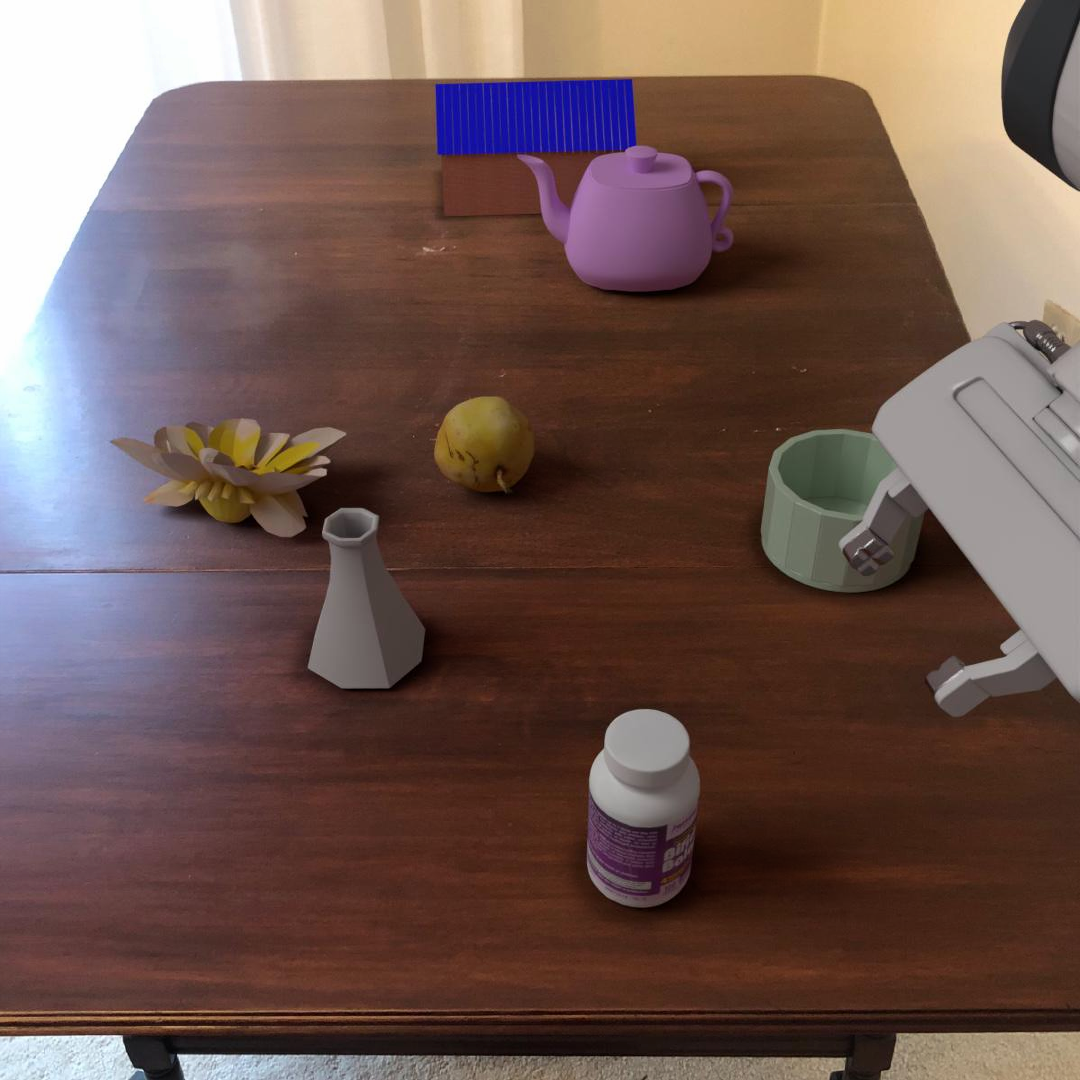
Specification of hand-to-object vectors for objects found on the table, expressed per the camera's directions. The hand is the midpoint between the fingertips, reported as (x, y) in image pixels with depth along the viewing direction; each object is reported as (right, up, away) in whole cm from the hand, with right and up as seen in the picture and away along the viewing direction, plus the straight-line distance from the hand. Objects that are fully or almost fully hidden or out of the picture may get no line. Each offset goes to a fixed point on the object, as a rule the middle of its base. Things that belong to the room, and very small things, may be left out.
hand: (891, 626), depth 55 cm
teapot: (-8, +29, +61) cm, 68 cm away
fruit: (-20, +8, +34) cm, 40 cm away
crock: (+4, +4, +28) cm, 28 cm away
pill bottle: (-11, -13, +7) cm, 19 cm away
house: (-16, +41, +76) cm, 88 cm away
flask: (-27, -3, +20) cm, 34 cm away
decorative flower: (-36, +6, +32) cm, 49 cm away
